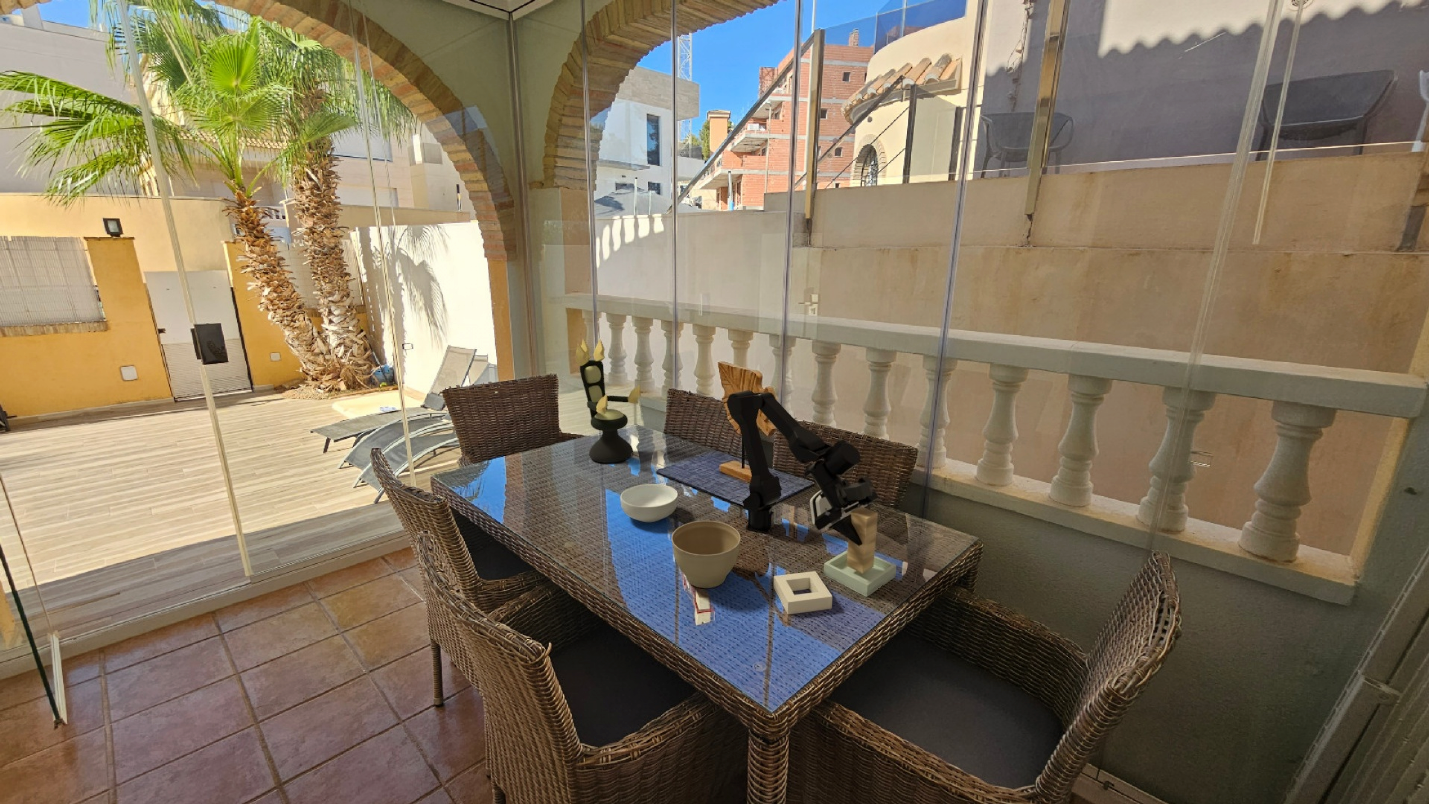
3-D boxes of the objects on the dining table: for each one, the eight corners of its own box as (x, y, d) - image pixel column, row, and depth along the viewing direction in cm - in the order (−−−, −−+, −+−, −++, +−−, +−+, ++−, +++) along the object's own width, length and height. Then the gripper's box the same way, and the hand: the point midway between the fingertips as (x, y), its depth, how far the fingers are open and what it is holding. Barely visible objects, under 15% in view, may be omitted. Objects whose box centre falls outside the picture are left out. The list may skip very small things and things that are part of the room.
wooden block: (846, 565, 130) (850, 512, 126) (857, 559, 132) (861, 506, 129) (862, 573, 126) (866, 519, 123) (873, 566, 129) (877, 513, 126)
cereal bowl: (690, 515, 161) (689, 493, 159) (647, 536, 149) (646, 512, 148) (652, 499, 172) (651, 478, 170) (609, 517, 161) (608, 495, 159)
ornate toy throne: (610, 469, 197) (603, 346, 185) (568, 457, 209) (558, 341, 197) (644, 453, 212) (639, 339, 200) (603, 443, 224) (596, 334, 212)
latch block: (773, 587, 126) (774, 576, 125) (814, 582, 127) (815, 571, 127) (787, 614, 116) (788, 602, 115) (831, 608, 118) (832, 596, 117)
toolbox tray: (823, 574, 131) (824, 563, 130) (852, 556, 138) (853, 546, 137) (866, 597, 122) (867, 585, 121) (895, 576, 129) (896, 565, 129)
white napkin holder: (826, 530, 152) (817, 495, 152) (813, 529, 156) (805, 495, 156) (861, 512, 162) (853, 479, 162) (848, 512, 166) (841, 480, 166)
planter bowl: (686, 605, 120) (685, 561, 117) (663, 568, 134) (662, 528, 131) (751, 587, 126) (752, 545, 123) (723, 553, 140) (723, 515, 137)
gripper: (827, 478, 120) (866, 542, 115) (874, 458, 132) (912, 515, 127) (798, 500, 128) (834, 560, 123) (845, 479, 140) (880, 533, 135)
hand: (866, 541), depth 127 cm, fingers closed on wooden block, 4 cm apart
